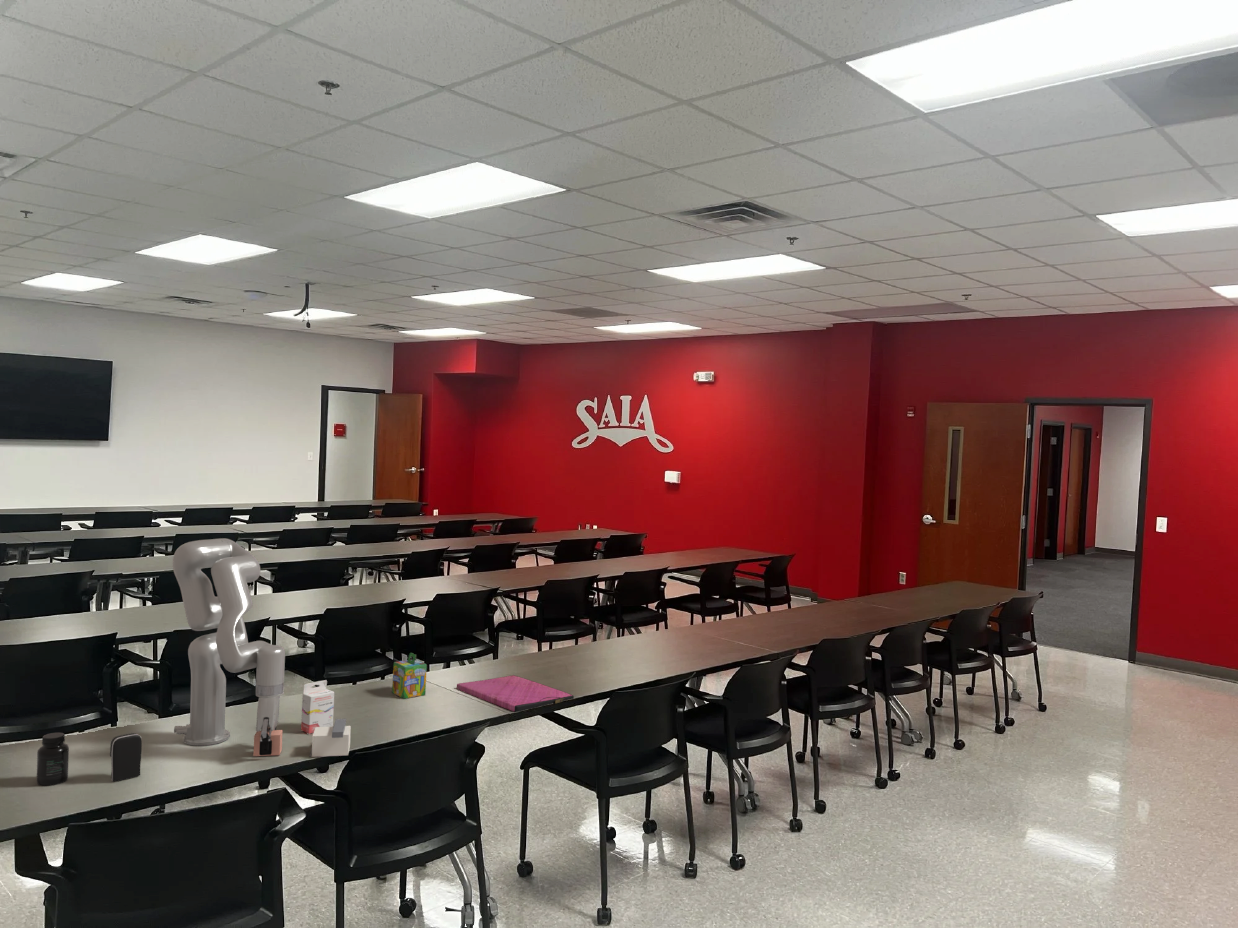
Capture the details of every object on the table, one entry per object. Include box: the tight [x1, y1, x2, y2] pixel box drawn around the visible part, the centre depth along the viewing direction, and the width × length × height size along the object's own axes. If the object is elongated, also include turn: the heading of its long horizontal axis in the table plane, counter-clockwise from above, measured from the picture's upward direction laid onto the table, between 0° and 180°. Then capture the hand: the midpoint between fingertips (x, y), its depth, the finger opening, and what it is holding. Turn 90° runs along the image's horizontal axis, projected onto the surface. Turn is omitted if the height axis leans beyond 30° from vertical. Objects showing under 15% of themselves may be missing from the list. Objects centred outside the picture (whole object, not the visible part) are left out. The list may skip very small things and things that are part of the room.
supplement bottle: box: [36, 732, 70, 787], centre depth 220 cm, size 7×7×12 cm
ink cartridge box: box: [300, 679, 335, 735], centre depth 267 cm, size 9×5×15 cm, turn 141°
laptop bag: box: [456, 674, 574, 713], centre depth 312 cm, size 40×4×27 cm
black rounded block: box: [109, 732, 143, 782], centre depth 224 cm, size 7×4×11 cm, turn 137°
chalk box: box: [391, 652, 428, 700], centre depth 307 cm, size 9×9×15 cm
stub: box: [253, 729, 283, 757], centre depth 245 cm, size 7×4×6 cm, turn 104°
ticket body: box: [309, 718, 352, 758], centre depth 249 cm, size 11×12×8 cm
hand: (268, 748), depth 245 cm, fingers open, 8 cm apart
